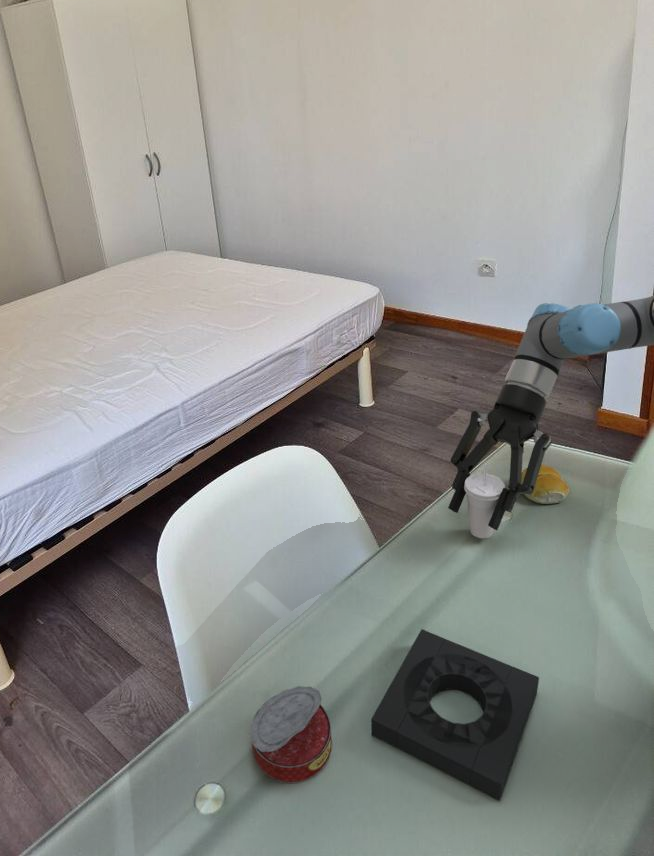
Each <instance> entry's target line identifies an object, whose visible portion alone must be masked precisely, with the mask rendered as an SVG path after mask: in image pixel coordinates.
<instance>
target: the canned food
mask: <svg viewBox="0 0 654 856" xmlns="http://www.w3.org/2000/svg"><path fill="white" fill-rule="evenodd" d="M321 703H322V696H321V693H320V691H319V690H318V689H316V688H313V687H312V686H301V685H300V686H295V687H293V688H289V689H288V688H287V689H285V690H282V691H281V692H279V693H278V694H276V695H274V696H272V697H270V698H269V699H268V700H266V701H264V703H263V704H262V705H261V706H259V708H258V709H257V711H256V713H254V715H253V718H252V721H251V726H250V732H249V736H250V739H251V744H252V752H253V751H254V753H253V757H254V756H255V757H254V760H255V762H256V764H257V766H258V768H260V770H261V771H262V772H263V773H264V774H265V775H267V776H268V777H269V778H271V779H273V780H275V781H277V782H280V783H286V784H287V783H288V784H296V783H302V782H305V781H308V780H310V779H312V778H313V777H315V776H316V775H318V774H319V773H320V772H321V771H322V770H323V768H324V767H326V765H327V763H328V761H329V759H330V757H331V753H332V750H333V749H332V747H333V746H332V745H333V740H332V726H331V720H330V717H329V714H328V712H327V711H326V709H325V708H324V706H322V704H321Z"/></svg>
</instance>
